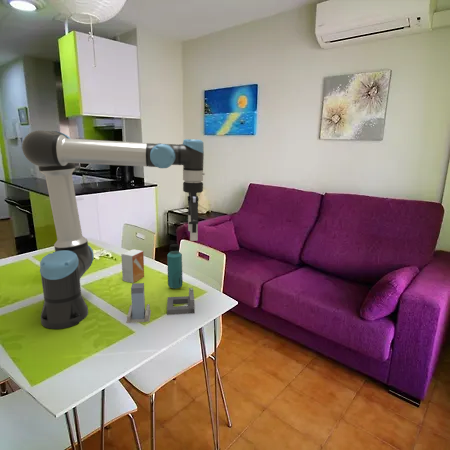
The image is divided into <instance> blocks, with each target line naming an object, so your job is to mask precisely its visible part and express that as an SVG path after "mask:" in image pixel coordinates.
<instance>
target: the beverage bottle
mask: <svg viewBox="0 0 450 450" xmlns="http://www.w3.org/2000/svg"><path fill="white" fill-rule="evenodd" d="M166 257H167V285H168V288H171V289H180V288H181V287H182V286H183V283H184V282H183V280H184V279H183V255H182V253H181V251H180V246H179V244H178V243H171V244H170V245H169V252H168V254H167V256H166Z"/></svg>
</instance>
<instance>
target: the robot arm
mask: <svg viewBox="0 0 450 450" xmlns="http://www.w3.org/2000/svg"><path fill="white" fill-rule="evenodd" d="M21 150H22V153H23V155H24V157H25V158H26V160H27V161H28V162H30V163H31V164H32V165H34V166H37V167H38V171H39V173H41V174H42V175H43V176H44V177H45V182H46V186H47V191H48V197H49V198H48V199H49V202H50V206H51V207H50V208H51V211H52V217H53V222H54V223H53V224H54V228H55V234H56V239H57V240H56V241H55V243H54V244H53V246H54V252H51V253H47V254H45V256H44V257H42V259H41V260H40V262H39V263H40V264H39V266H40V269H39V273H40V276H41V277H40V279H41V284H42V292H43V293H42V294H43V298H44V299H43V300H44V302H43V306H42V310H41V315H40V323H41V325H42V326H43V327H45V328H47V329H51V330H61V329H66V328H70V327H71V328H72V327H73V326H76V325H78V324H79V323H80V322H82V321H83V320H85V319H86V318H87V317H88V315H89V309H88V305H87V303H86V301H85V299H84V297H83V295H82V290H81V287H82V286H81V278H82V277H83V275H84V274H86V272H87V271H88V270H89V269H90V267H91V266H92V264H93V262H94V258H95V257H94V256H95V255H94V250H93V249H92V248H93V247H92V246H90V245H89V242H88V239H87V238H86V237H85V236H83V233H82V227H81V226H82V225H81V221H80V220H81V219H80V215H79V211H78V210H79V209H78V203H77V197H76V191H75V186H74V185H75V184H74V179H73V173H74V171H75V170H76V165H75V164H83V165H84V164H89V165H90V164H91V165H110V166H127V167H128V166H129V167H130V166H131V167H149V168H158V169H167V168H169V167H171V166H182V180H183V182H182V183H183V184H182V191H183V192H185V193H187V194H188V195H187V205H188V206H187V208H188V209H187V218H188V219H187V231H188V232H189V233H190V234H189V235H190V236H189V241H190V242H192V241H193V242H194V241H197V242H198V236H199V235H198V233H199V232H198V231H199V229H198V227H199V200H200V199H199V196H197V193H199V194H200V193H203V192H204V183H203V180H204V176H205V175H206V173H205V172H204V160H205V159H204V156H205V154H204V141H203V140H202V139H194V138H192V139H191V138H190V139H189V138H184V139H183V141H182V144H175V143H174V144H173V143H172V144H171V143H160V142H159V143H158V142H157V143H150V142H149V143H148V142H147V143H146V142H131V141H116V140H103V139H102V140H97V139H86V138H85V139H83V138H82V139H81V138H71V137H70V136H68V134H65V133H64V132H60V131H56V130H54V131H53V130H39V129H38V130H34V131H31V132H30V133H28V134H27V135H25V137H24V138H23V141H22V143H21Z"/></svg>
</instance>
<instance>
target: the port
mask: <svg viewBox="0 0 450 450" xmlns="http://www.w3.org/2000/svg"><path fill="white" fill-rule="evenodd" d="M166 299H167V305H166V315H168V316H169V315H185V314H187V315H188V314H189V315H190V314H195V292H194V288H193V287H188V296H187V295H185V296H167V298H166ZM181 304H183V305H182V306H181ZM184 304H187V305H184ZM174 305H180V306H174Z"/></svg>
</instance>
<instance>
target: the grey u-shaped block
mask: <svg viewBox="0 0 450 450" xmlns="http://www.w3.org/2000/svg"><path fill="white" fill-rule="evenodd" d="M151 314H152V310H151V309H150V304H149V303H148V304H146V305H145V317H144V319H133V316H132V304H131V305H129V308H128V313H127V316H126V322H125V323H126V324H129V323H130V324H131V323H134V324H135V323H147V322H150V321H151V320H150V319H151Z"/></svg>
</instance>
